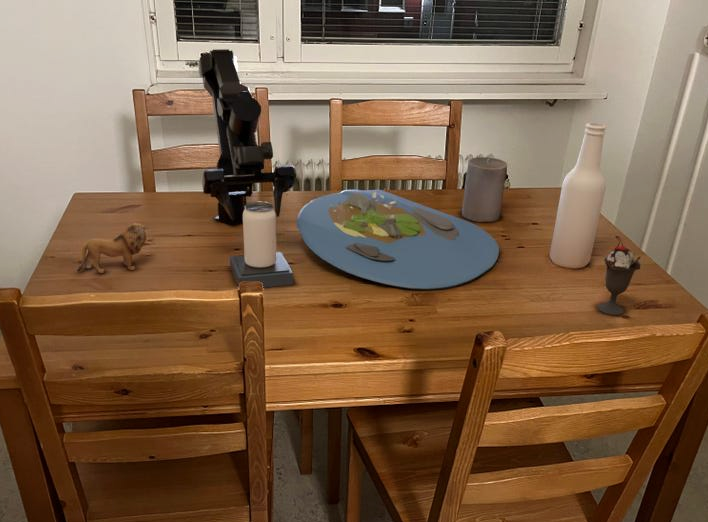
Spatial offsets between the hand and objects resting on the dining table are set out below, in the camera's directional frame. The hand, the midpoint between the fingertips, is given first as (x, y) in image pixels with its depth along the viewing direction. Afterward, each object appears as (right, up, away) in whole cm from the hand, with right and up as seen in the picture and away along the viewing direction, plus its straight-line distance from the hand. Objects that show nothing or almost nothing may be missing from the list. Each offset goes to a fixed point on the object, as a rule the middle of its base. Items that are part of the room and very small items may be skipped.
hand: (255, 217), depth 150 cm
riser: (+1, -12, +3) cm, 12 cm away
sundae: (+70, -19, -4) cm, 73 cm away
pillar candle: (+52, +8, +38) cm, 65 cm away
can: (+1, -9, +2) cm, 9 cm away
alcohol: (+68, -7, +15) cm, 70 cm away
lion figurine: (-30, -10, +4) cm, 32 cm away
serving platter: (+30, -4, +18) cm, 35 cm away
